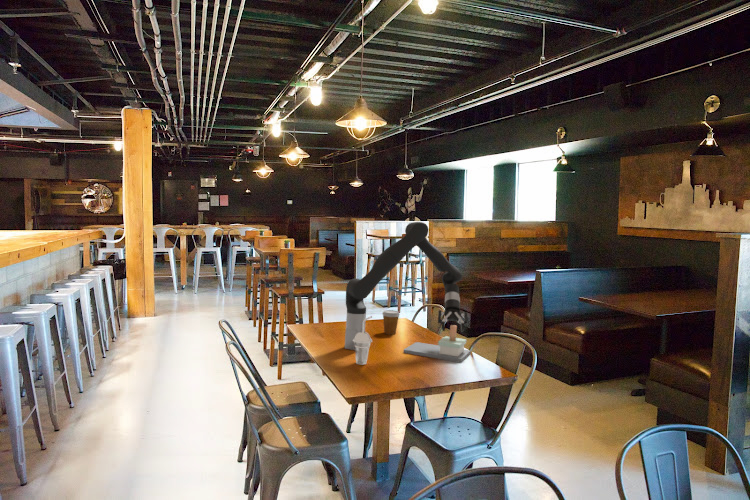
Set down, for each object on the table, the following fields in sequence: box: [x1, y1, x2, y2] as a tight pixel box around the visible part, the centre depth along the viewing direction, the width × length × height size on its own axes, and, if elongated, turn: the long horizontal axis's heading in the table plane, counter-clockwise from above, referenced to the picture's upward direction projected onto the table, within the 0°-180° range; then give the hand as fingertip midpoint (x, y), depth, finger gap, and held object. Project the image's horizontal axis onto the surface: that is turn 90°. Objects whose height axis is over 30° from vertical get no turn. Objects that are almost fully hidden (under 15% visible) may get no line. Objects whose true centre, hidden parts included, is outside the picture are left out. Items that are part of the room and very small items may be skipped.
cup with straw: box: [353, 315, 373, 366], centre depth 215 cm, size 8×9×20 cm
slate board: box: [402, 341, 472, 363], centre depth 239 cm, size 18×28×2 cm, turn 66°
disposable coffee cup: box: [382, 309, 400, 335], centre depth 276 cm, size 10×10×12 cm
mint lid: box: [437, 324, 467, 349], centre depth 236 cm, size 12×10×9 cm
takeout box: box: [439, 345, 465, 356], centre depth 236 cm, size 11×9×5 cm
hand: (452, 330), depth 237 cm, fingers open, 8 cm apart
